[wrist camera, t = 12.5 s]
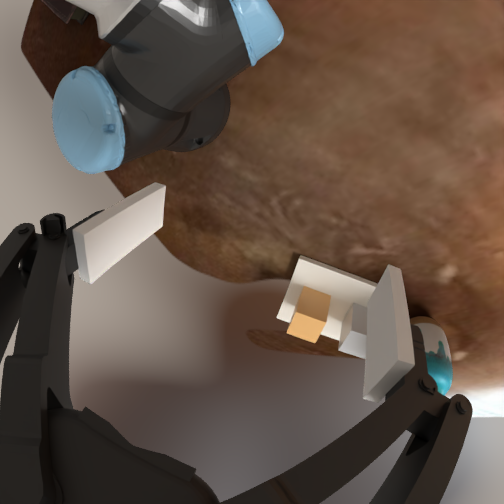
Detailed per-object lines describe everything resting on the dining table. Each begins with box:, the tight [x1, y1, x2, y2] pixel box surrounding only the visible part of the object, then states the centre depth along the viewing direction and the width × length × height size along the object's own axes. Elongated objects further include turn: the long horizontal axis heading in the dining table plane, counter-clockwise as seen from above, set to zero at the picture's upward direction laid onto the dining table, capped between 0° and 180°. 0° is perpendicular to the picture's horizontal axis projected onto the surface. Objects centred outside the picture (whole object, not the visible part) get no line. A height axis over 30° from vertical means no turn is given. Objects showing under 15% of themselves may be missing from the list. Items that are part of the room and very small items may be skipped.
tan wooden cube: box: [287, 286, 331, 343], centre depth 48 cm, size 5×5×7 cm
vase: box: [410, 316, 453, 395], centre depth 40 cm, size 11×11×19 cm
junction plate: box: [277, 255, 378, 359], centre depth 48 cm, size 18×14×8 cm
